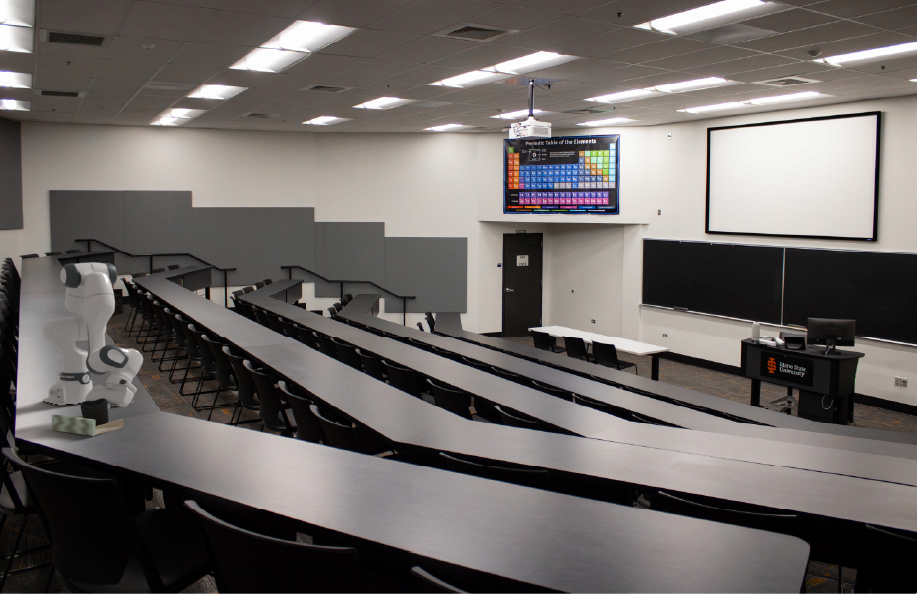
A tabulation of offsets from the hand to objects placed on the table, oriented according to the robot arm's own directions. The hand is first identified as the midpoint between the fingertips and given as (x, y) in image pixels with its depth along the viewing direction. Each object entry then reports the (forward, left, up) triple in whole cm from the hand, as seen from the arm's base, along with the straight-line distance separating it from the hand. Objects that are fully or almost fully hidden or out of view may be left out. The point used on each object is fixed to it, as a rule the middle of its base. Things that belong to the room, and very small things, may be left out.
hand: (98, 413), depth 277 cm
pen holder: (0, -1, -5) cm, 5 cm away
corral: (-1, -4, -5) cm, 7 cm away
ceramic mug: (-21, +31, -5) cm, 38 cm away
